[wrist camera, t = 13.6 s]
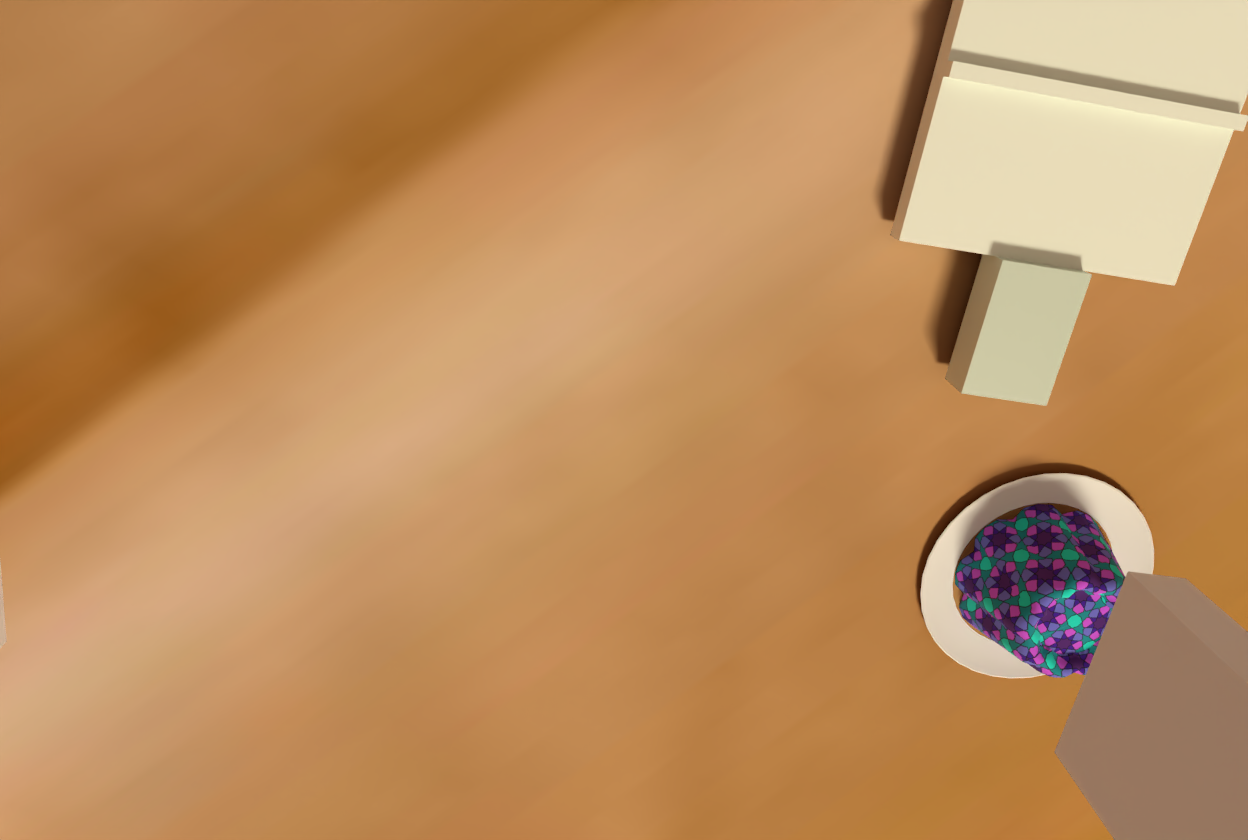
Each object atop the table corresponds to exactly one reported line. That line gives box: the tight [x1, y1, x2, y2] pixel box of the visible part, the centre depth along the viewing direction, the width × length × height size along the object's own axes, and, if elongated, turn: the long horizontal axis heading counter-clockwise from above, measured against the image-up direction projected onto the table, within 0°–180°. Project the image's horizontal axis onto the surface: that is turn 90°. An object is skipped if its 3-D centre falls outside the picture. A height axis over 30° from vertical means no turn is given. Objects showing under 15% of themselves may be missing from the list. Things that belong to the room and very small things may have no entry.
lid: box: [890, 0, 1248, 406], centre depth 39 cm, size 13×27×3 cm, turn 171°
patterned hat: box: [920, 473, 1154, 678], centre depth 47 cm, size 12×12×5 cm
